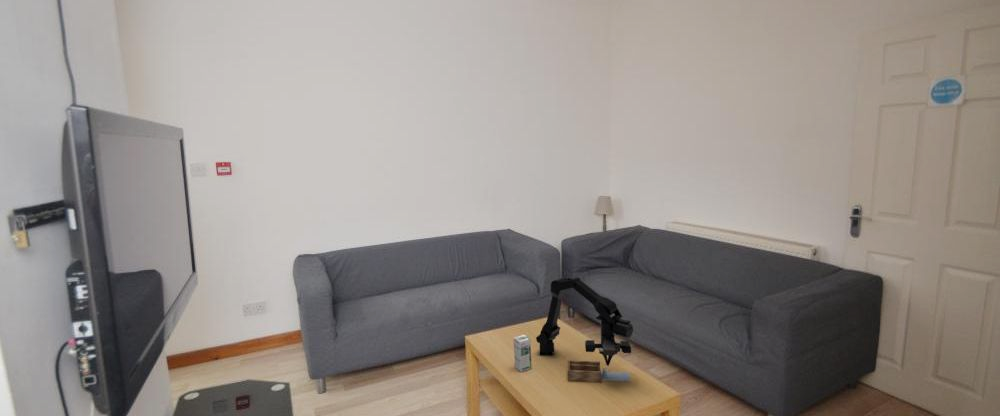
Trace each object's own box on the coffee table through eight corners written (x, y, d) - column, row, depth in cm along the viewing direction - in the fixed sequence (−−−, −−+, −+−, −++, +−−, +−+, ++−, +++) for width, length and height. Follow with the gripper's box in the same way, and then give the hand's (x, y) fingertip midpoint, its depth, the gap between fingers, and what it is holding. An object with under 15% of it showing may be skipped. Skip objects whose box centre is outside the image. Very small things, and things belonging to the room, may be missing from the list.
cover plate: (601, 381, 190) (601, 374, 189) (600, 373, 196) (600, 366, 196) (630, 382, 189) (631, 375, 188) (628, 374, 195) (628, 367, 194)
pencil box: (567, 381, 190) (567, 370, 190) (567, 370, 199) (567, 360, 198) (601, 382, 188) (601, 372, 188) (599, 371, 197) (599, 361, 196)
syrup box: (520, 372, 199) (519, 341, 196) (514, 366, 204) (513, 336, 202) (531, 368, 201) (530, 338, 199) (525, 363, 207) (524, 333, 204)
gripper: (586, 338, 182) (586, 374, 185) (633, 340, 180) (632, 376, 182) (584, 327, 193) (585, 360, 196) (629, 328, 191) (629, 362, 193)
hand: (607, 365), depth 191 cm, fingers closed
